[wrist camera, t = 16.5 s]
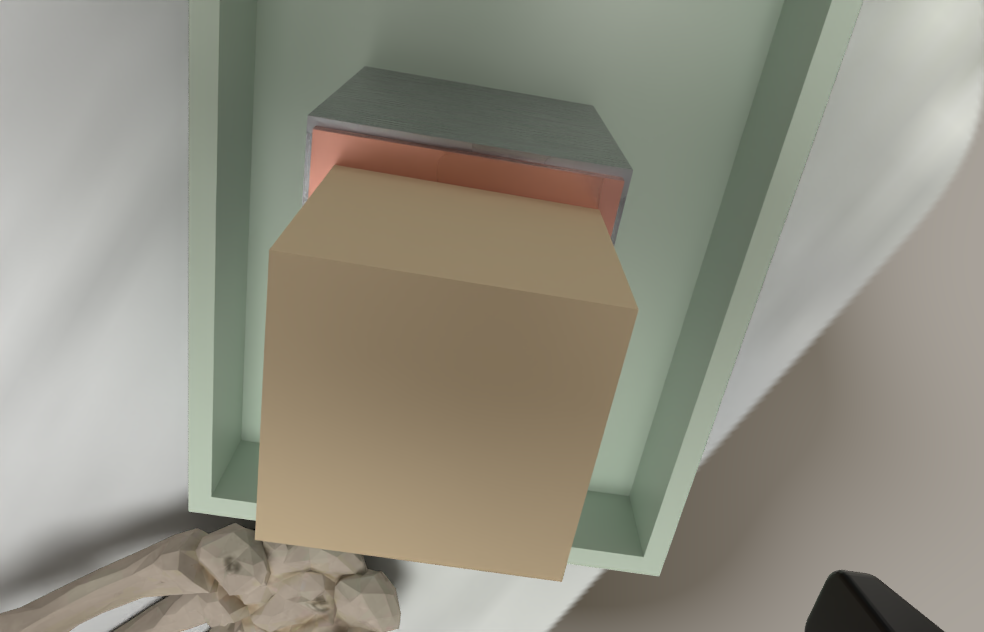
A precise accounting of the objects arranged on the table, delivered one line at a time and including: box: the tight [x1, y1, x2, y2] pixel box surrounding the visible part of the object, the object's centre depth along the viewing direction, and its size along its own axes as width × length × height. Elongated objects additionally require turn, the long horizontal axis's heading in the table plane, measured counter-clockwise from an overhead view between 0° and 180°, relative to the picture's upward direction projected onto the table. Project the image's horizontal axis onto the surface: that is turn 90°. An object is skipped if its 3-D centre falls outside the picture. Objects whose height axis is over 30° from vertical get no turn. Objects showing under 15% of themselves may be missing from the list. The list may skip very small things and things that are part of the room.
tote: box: [188, 0, 863, 576], centre depth 18 cm, size 18×13×3 cm
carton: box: [255, 165, 639, 582], centre depth 12 cm, size 4×4×4 cm
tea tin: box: [302, 66, 633, 246], centre depth 16 cm, size 6×6×6 cm
